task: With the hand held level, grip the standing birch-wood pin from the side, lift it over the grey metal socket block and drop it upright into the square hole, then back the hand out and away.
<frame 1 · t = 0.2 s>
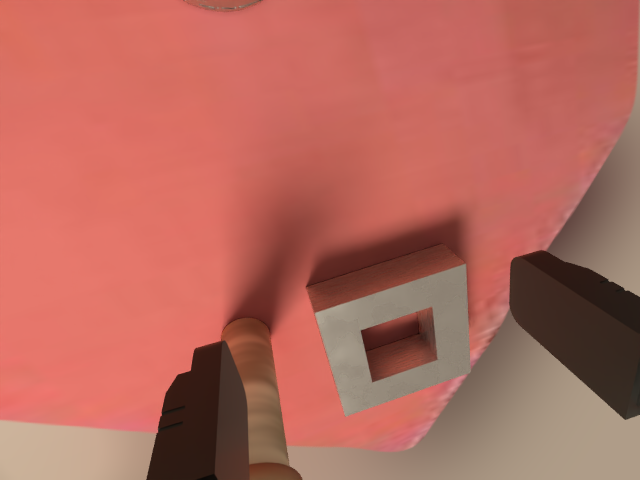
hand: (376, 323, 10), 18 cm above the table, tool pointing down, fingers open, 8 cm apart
wooden pin: (245, 337, 31), on the table
socket block: (385, 319, 34), on the table
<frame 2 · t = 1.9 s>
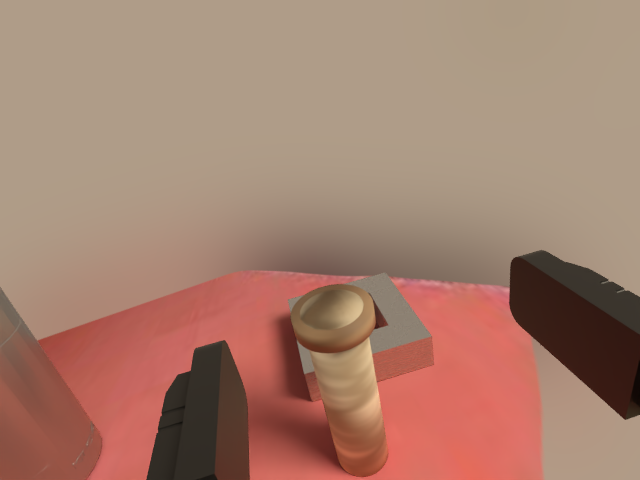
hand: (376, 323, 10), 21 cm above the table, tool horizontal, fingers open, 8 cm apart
wooden pin: (362, 450, 30), on the table
socket block: (355, 341, 41), on the table
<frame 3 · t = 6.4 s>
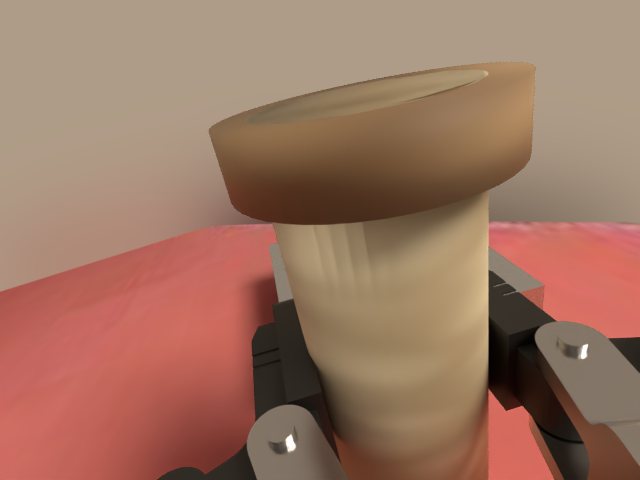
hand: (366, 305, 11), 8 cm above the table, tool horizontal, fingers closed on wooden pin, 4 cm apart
socket block: (383, 308, 23), on the table
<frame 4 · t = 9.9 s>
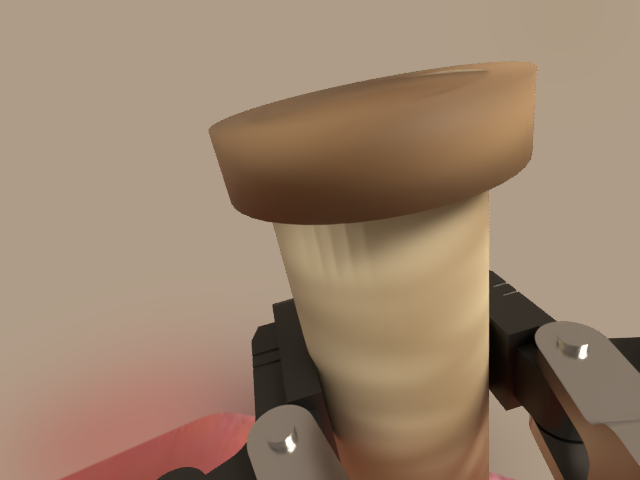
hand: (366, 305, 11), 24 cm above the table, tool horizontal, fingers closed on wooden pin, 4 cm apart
when the fingers open (9 cm above the table, at t = 13.4 s): wooden pin drops 1 cm, resting in socket block.
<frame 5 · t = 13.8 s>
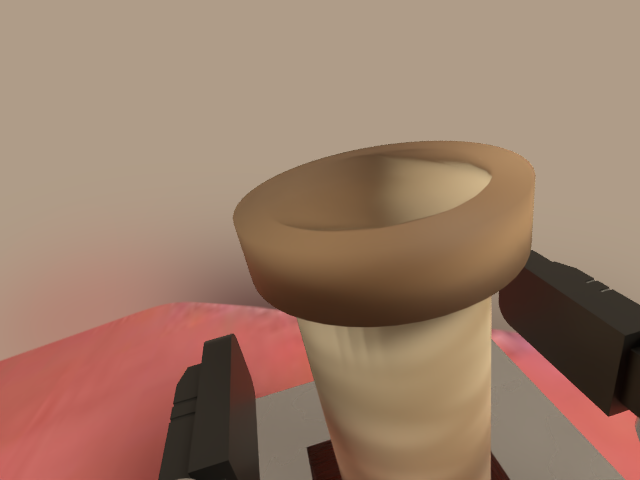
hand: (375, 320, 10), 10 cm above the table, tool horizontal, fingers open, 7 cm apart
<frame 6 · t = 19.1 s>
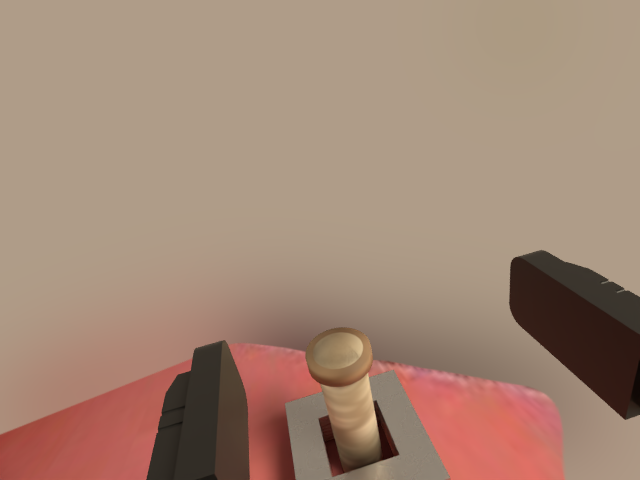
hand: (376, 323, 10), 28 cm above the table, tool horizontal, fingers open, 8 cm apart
wooden pin: (362, 460, 36), resting in socket block
socket block: (361, 459, 36), on the table
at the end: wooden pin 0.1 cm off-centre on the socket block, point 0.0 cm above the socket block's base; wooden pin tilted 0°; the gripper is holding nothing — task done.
